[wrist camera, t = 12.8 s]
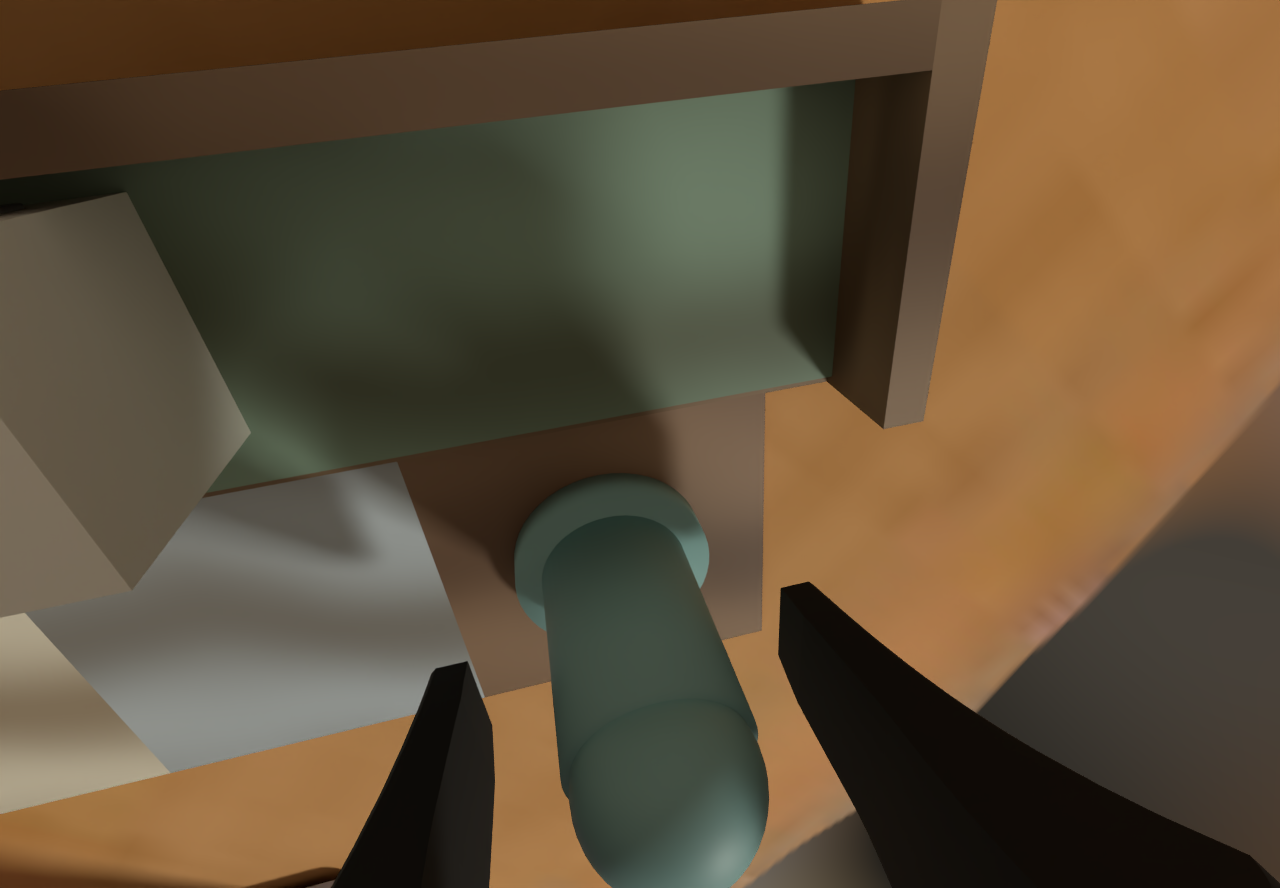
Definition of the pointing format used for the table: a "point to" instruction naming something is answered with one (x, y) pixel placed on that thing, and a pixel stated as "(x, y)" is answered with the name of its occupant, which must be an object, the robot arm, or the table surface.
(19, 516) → the die
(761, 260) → the dice tray
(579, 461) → the track
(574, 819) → the pawn
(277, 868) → the table surface
